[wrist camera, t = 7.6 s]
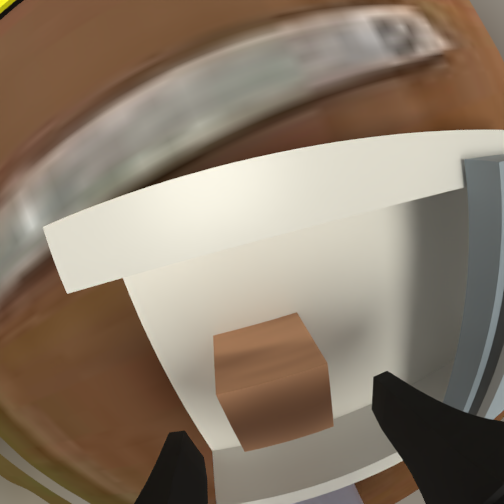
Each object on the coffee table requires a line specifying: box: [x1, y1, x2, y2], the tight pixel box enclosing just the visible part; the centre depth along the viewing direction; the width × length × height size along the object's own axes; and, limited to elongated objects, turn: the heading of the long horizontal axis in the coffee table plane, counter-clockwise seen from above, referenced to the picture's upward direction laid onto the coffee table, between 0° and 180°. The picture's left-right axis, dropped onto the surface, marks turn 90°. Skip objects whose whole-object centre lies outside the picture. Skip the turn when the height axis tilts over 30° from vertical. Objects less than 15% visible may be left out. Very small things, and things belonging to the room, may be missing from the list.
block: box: [213, 312, 334, 452], centre depth 12 cm, size 4×4×4 cm
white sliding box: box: [43, 130, 504, 504], centre depth 12 cm, size 18×24×6 cm
